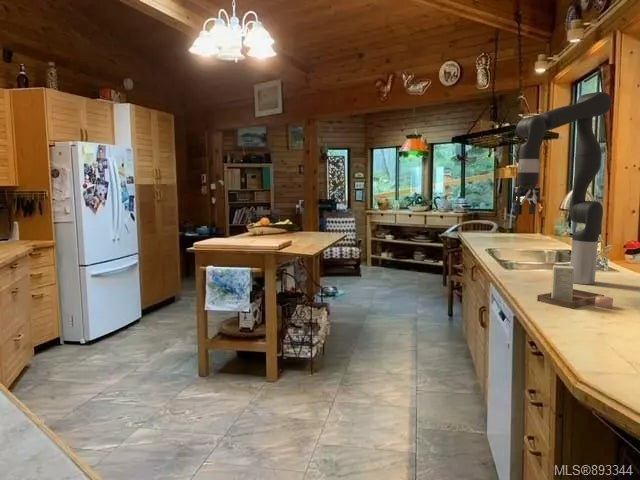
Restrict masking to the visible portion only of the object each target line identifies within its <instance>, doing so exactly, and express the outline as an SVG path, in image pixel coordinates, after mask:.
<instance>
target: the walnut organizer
mask: <svg viewBox="0 0 640 480" xmlns="http://www.w3.org/2000/svg"><path fill="white" fill-rule="evenodd" d="M551 295H552V291H551V292H546V293H541V294H538V295H537V297H536V300H537V302H540V301H541V302H540V303H544V302H545V304H549V305H554V306H558V307H562V308H567V309H572V310H573V309H575V308H581V307H584V306H588V305H591V304H595V298H596V296H605V295H604V294H600V293H597V292H596V293H595V292H590V291H584V290H580V289H574V288H573V295H572V302H570V301H565V300H560V299H556V298H551Z"/></svg>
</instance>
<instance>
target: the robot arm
mask: <svg viewBox="0 0 640 480" xmlns="http://www.w3.org/2000/svg"><path fill="white" fill-rule="evenodd" d="M611 108H612V97H611V96H610V94H608V93H607V92H606V91H605V92H604V91H596V92H588V93H584V94H582V95H580V96H579V97H578V99H577V100H576V103H572V104H568V105H564V106H561V107H557V108H553V109H550V110H548V111H545V112H543V113H540V114H536V115H532V116H529V117H525V118H523V119H521V120H519V122H518V123H517V124H516V132H517V134H518V136H520V137H521V138H527V140H526V142H525V143H522V144H520V146H519V153H518V154H519V155H518V163H517V174H516V175H517V176H516V184H517V185H518V186H514V187H513V190H512V199H511V200H512V201H511V203H512V204H514V205H515V215H518V216H521V215H522V214H523V204H524V202H525V201H526V200H527V201H528V202H529V206H528V214H529V215H535V214H536V207H537V206H536V205H537V204H538V203H540V202H541V187H539V186H536V185H539V177H540V151H541V147H542V144H543V141H544V138H545V135H546V132H547V131H552V130H555V129H557V128H560V127H563V126H565V125H568V124H570V123H573V122H575V123H576V126H575V127H576V141H575V142H576V143H575V154H574V176H573V186H572V191H571V200H570V204H569V205H570V206H569V217H570V220H571V221H572V222H573V223H575V224H583V225H585V226H584V228H583V229H581V230H579V231H575V232H573V233H572V237H571V238H572V239H571V250H570V251H571V253H570V263H569V264H570V265H569V266H573V268H574V279H573V284H580V285H593V284H595V283H596V282H595V280H596V272H597V258H598V257H597V256H598V254H597V253H598V245H599V237H600V234H601V229H602V221H603V217H604V216H603V215H604V207H603V205H602V203H600V202H599V201H595V200H586V199H587V198H586V195H587V192H588V189H589V187H590V185H591V183H592V182H593V180H594V179H595V178H596V176H597V175H598V173H599V171H600V169H601V166H602V153H603V152H602V148H601V145H600V142H599V141H598V139H597V137H596V135H595V133H594V130H593V118H595V117H600V116H604V115H605V114H607V113H608V112H609V111H610V109H611Z"/></svg>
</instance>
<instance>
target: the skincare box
mask: <svg viewBox="0 0 640 480" xmlns="http://www.w3.org/2000/svg"><path fill="white" fill-rule="evenodd" d="M551 278H552V282H551V283H552V284H551V292H552V295H551V298H556V299H560V300H565V301H570V302H572V295H573V289H574V283H573V279H574V268H573V266H570V265H554V264H553V266H552V277H551Z"/></svg>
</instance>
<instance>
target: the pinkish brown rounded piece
mask: <svg viewBox="0 0 640 480" xmlns="http://www.w3.org/2000/svg"><path fill="white" fill-rule="evenodd" d="M613 301H614V298H612V297H609V296H605V295H604V296H596V298H595V303H594V306H595V307H597V308H601V309H612V308H613Z"/></svg>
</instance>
